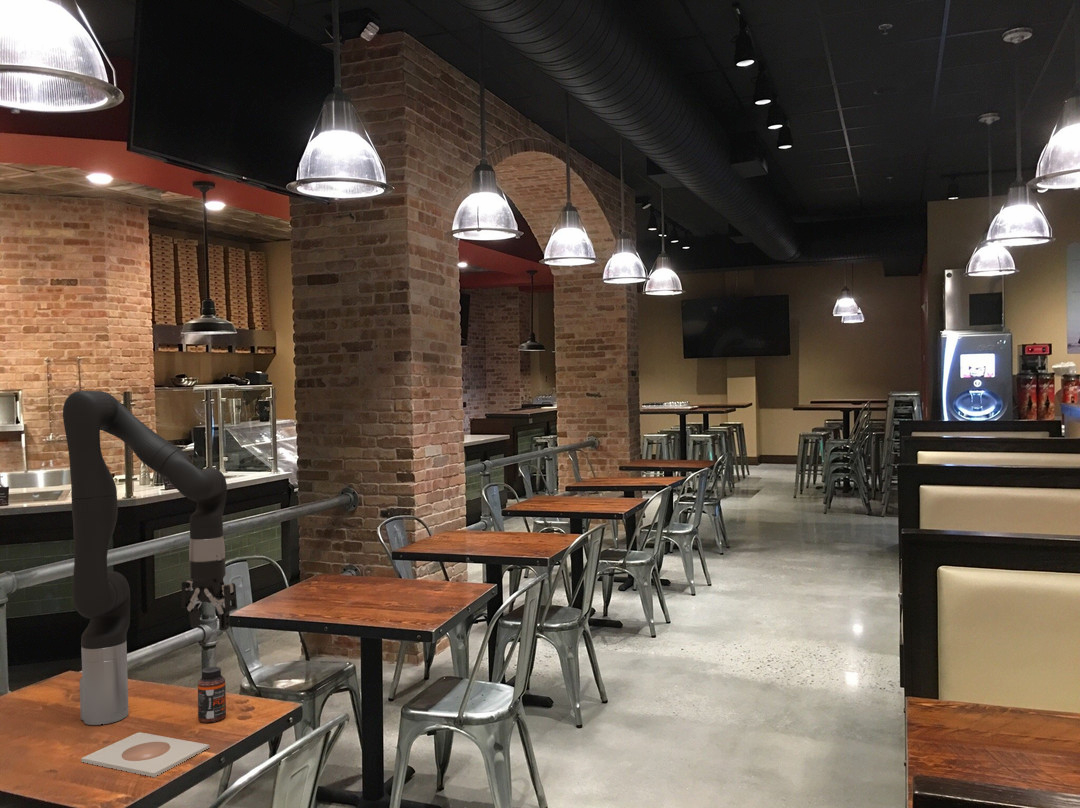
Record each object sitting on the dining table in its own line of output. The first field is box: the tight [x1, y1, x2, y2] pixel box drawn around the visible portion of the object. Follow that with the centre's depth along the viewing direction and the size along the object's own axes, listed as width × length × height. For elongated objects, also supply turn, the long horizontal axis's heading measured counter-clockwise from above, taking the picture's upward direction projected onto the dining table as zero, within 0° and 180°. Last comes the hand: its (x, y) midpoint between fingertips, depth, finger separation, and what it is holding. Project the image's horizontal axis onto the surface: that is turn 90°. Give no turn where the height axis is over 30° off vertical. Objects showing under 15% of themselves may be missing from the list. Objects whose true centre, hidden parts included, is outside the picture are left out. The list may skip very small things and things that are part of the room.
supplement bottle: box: [197, 666, 227, 724], centre depth 190 cm, size 6×6×11 cm
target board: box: [80, 731, 211, 778], centre depth 171 cm, size 20×14×1 cm
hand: (209, 628), depth 190 cm, fingers open, 8 cm apart
